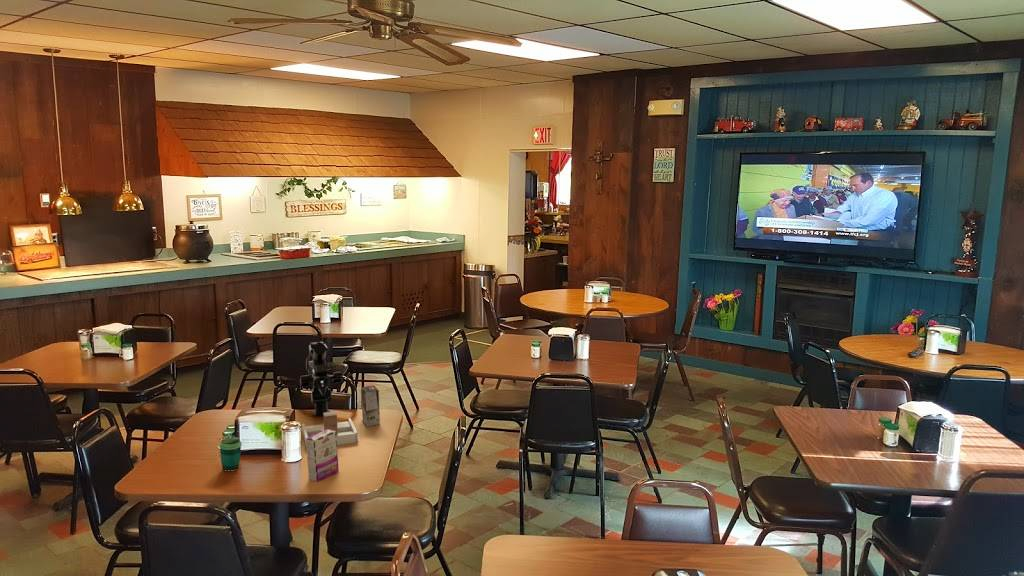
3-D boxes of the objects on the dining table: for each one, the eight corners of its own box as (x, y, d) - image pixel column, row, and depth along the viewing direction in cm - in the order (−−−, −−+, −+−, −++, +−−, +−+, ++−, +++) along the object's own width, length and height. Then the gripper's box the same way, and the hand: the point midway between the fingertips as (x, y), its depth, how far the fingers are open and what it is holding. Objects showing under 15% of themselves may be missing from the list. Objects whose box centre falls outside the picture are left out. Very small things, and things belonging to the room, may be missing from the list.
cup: (238, 463, 285) (235, 434, 283) (247, 469, 280) (244, 439, 278) (217, 469, 280) (215, 440, 278) (226, 475, 274) (224, 445, 272)
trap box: (302, 432, 319) (302, 423, 318) (350, 426, 326) (350, 417, 326) (306, 449, 299) (306, 440, 299) (357, 442, 307) (357, 433, 306)
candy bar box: (329, 469, 279) (327, 428, 276) (339, 471, 276) (337, 430, 274) (307, 479, 269) (305, 437, 267) (317, 482, 267) (314, 440, 264)
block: (324, 435, 308) (323, 412, 307) (336, 433, 310) (335, 411, 308) (325, 439, 304) (324, 416, 302) (337, 437, 305) (336, 414, 304)
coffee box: (380, 424, 328) (379, 390, 326) (366, 426, 326) (365, 392, 323) (375, 418, 337) (374, 385, 334) (361, 420, 334) (360, 386, 331)
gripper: (299, 358, 327) (302, 388, 318) (341, 354, 333) (345, 384, 324) (298, 371, 335) (302, 401, 327) (339, 367, 341) (344, 396, 333)
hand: (323, 395), depth 327 cm, fingers closed
